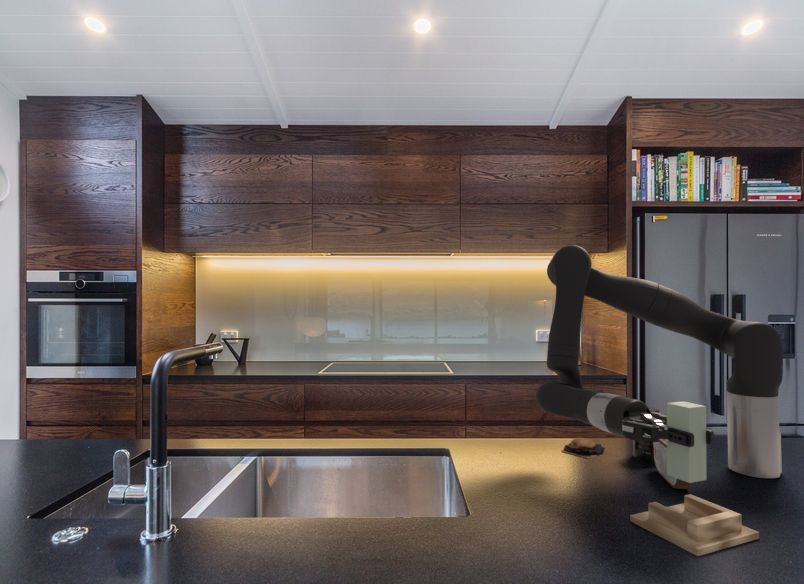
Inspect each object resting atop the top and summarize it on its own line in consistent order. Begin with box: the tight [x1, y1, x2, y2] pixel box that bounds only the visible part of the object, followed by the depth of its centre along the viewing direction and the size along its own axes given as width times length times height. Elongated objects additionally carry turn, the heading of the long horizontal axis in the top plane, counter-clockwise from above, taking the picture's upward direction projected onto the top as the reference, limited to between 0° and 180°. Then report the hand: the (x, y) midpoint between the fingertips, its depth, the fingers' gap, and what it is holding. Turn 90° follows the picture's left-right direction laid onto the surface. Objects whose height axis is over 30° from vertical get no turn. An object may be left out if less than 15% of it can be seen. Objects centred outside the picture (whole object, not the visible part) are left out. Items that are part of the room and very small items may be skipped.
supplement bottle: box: [632, 406, 660, 464], centre depth 112 cm, size 7×7×12 cm
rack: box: [629, 493, 760, 557], centre depth 76 cm, size 14×12×4 cm
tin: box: [653, 440, 692, 490], centre depth 98 cm, size 15×3×8 cm, turn 168°
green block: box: [666, 400, 707, 484], centre depth 77 cm, size 4×4×12 cm
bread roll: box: [561, 437, 606, 460], centre depth 118 cm, size 11×8×4 cm
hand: (702, 439), depth 75 cm, fingers closed on green block, 4 cm apart
